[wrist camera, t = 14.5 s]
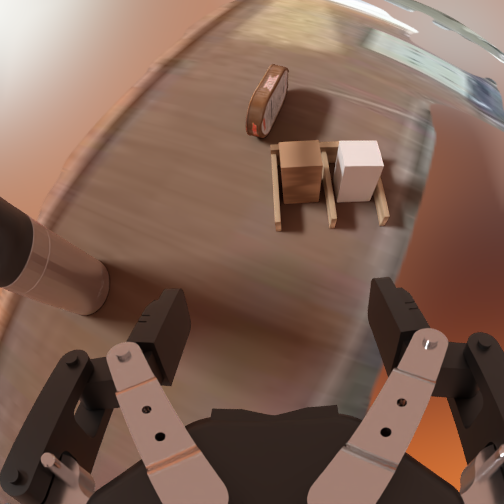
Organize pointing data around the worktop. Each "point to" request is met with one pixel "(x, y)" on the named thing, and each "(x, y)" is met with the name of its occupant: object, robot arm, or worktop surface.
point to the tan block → (301, 171)
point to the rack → (326, 186)
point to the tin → (267, 101)
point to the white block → (357, 170)
